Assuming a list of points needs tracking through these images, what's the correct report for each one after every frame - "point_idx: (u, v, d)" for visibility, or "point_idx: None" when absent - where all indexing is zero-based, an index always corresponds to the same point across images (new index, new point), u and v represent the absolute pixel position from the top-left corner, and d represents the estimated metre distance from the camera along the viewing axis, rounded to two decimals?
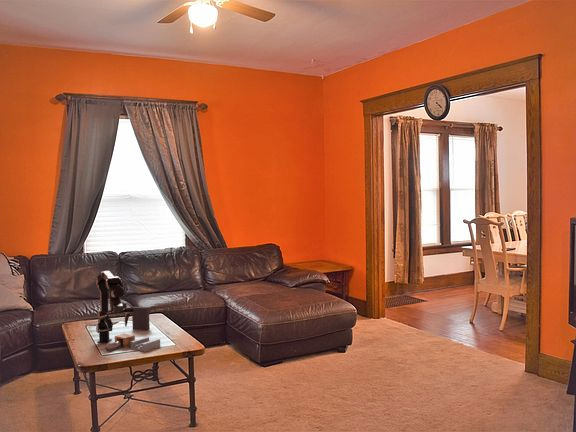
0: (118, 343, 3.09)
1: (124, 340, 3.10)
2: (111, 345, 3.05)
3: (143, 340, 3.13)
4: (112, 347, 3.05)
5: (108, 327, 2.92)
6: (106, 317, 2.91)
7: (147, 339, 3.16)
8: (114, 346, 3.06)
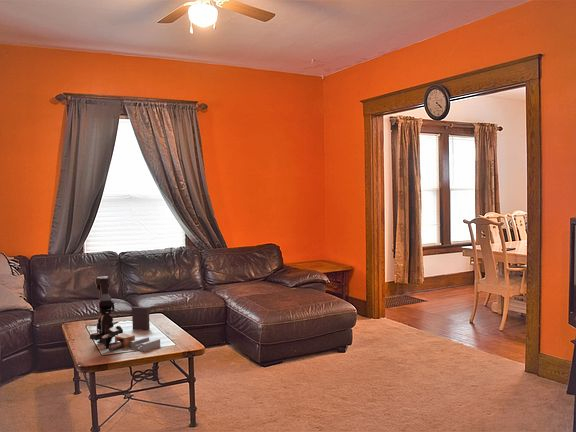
0: (121, 343, 3.10)
1: (124, 340, 3.10)
2: (114, 345, 3.06)
3: (143, 340, 3.13)
4: (114, 347, 3.06)
5: (107, 347, 3.03)
6: (107, 338, 3.01)
7: (147, 339, 3.16)
8: (116, 346, 3.07)
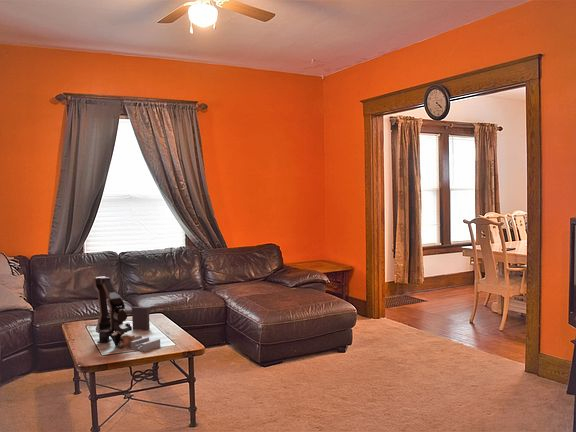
0: None
1: (124, 340, 3.10)
2: None
3: (143, 340, 3.13)
4: None
5: (116, 344, 3.09)
6: (116, 336, 3.07)
7: (147, 339, 3.16)
8: None
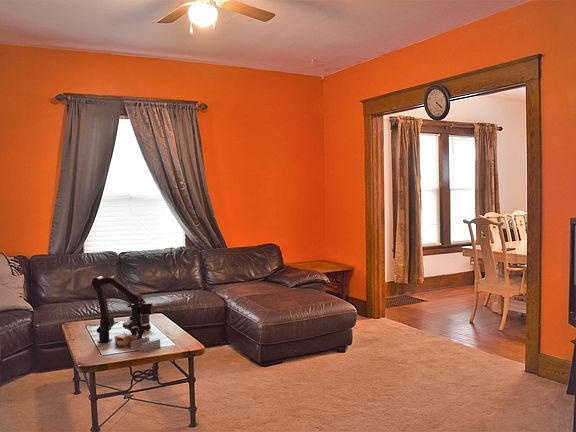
0: None
1: (124, 340, 3.10)
2: (122, 342, 3.11)
3: (143, 340, 3.13)
4: None
5: None
6: (129, 330, 3.22)
7: (147, 339, 3.16)
8: None
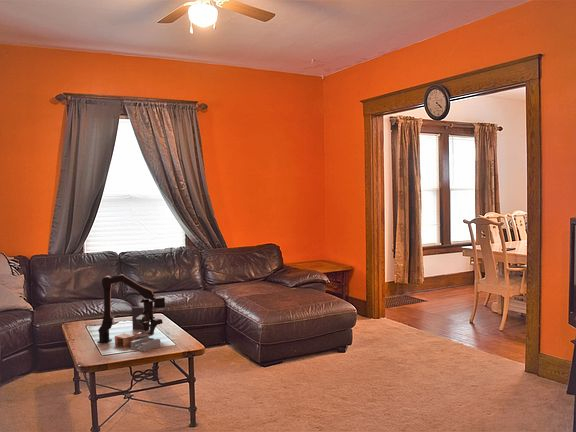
0: (141, 334, 3.23)
1: (124, 340, 3.10)
2: (135, 335, 3.19)
3: (143, 340, 3.13)
4: (136, 337, 3.19)
5: None
6: (141, 324, 3.30)
7: (147, 339, 3.16)
8: (138, 336, 3.20)
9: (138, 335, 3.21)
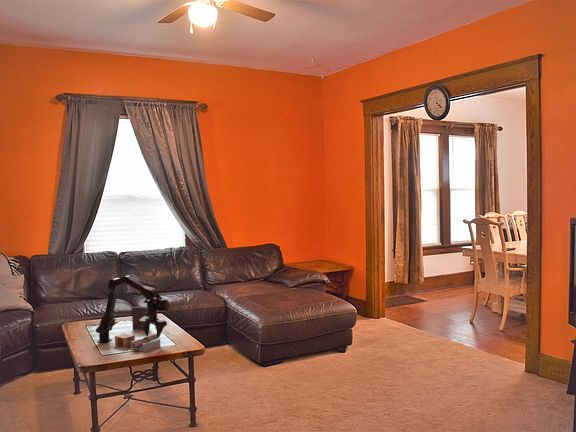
0: (145, 340, 3.08)
1: (124, 340, 3.10)
2: (138, 342, 3.04)
3: None
4: (139, 344, 3.04)
5: (146, 334, 3.17)
6: (142, 326, 3.16)
7: None
8: (141, 343, 3.05)
9: (141, 341, 3.06)
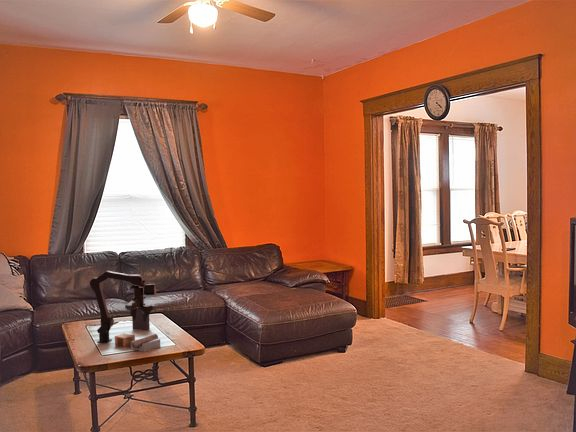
0: (145, 340, 3.08)
1: (124, 340, 3.10)
2: (138, 342, 3.04)
3: None
4: (139, 344, 3.04)
5: (133, 319, 3.27)
6: (129, 310, 3.26)
7: None
8: (141, 343, 3.05)
9: (141, 341, 3.06)
